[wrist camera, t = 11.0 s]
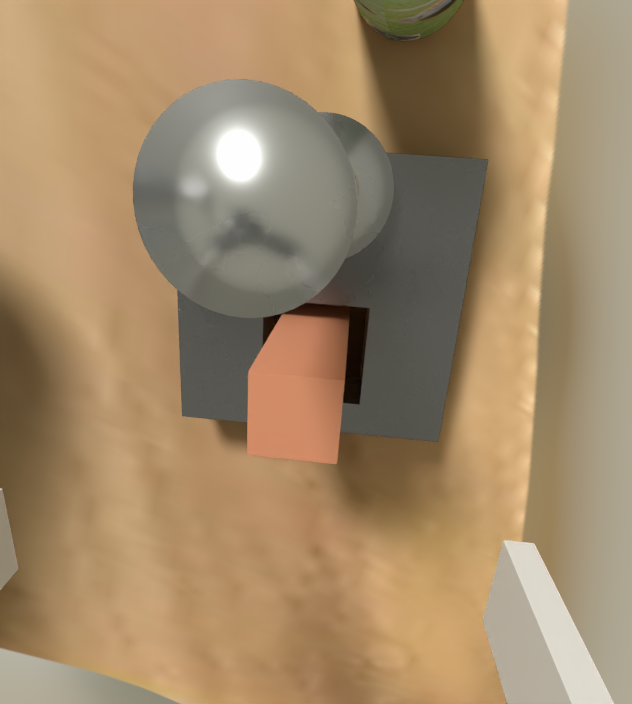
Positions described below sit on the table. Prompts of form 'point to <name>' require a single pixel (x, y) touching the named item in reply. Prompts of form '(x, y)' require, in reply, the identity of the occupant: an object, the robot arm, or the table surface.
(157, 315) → the table surface
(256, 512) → the table surface
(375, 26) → the beverage can
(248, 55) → the table surface
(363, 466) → the table surface
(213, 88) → the socket base with post
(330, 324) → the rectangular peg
